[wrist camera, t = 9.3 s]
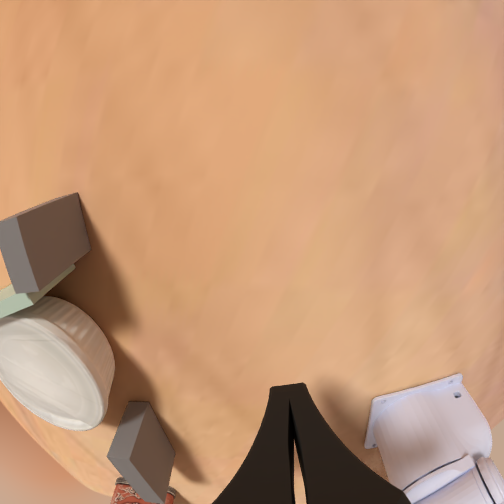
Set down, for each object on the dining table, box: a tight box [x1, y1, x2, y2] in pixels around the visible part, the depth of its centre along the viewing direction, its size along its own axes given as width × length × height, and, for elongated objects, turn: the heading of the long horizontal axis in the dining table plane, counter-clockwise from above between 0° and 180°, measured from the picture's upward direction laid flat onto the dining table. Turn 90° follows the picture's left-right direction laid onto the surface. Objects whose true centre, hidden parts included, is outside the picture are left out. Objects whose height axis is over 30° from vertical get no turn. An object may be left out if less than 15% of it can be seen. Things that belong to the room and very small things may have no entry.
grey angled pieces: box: [0, 193, 175, 504], centre depth 20 cm, size 2×26×6 cm, turn 8°
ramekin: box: [0, 296, 115, 431], centre depth 20 cm, size 11×11×5 cm
